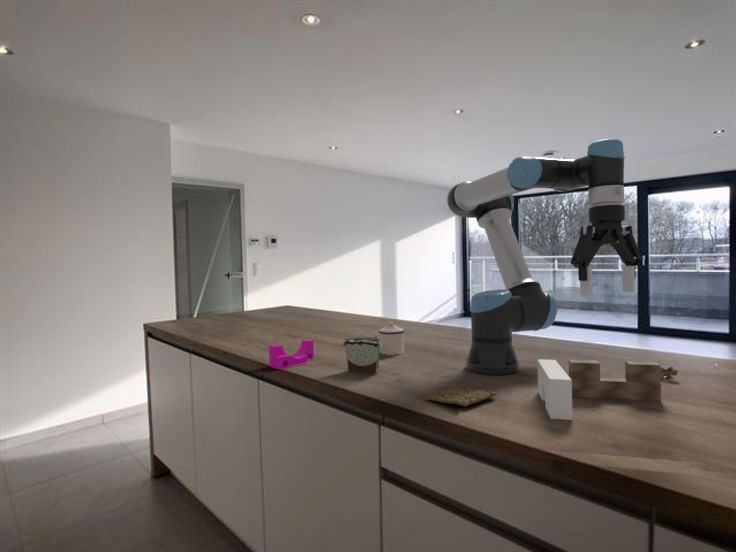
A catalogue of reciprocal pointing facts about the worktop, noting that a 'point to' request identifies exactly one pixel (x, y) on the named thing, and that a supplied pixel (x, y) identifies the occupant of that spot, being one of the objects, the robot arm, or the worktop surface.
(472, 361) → the robot arm
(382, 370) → the worktop surface
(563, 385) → the white bridge
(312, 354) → the toy block
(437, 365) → the worktop surface
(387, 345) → the teacup with lid
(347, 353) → the food container
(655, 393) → the walnut notched block
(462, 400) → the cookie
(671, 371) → the frog figurine
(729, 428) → the worktop surface
